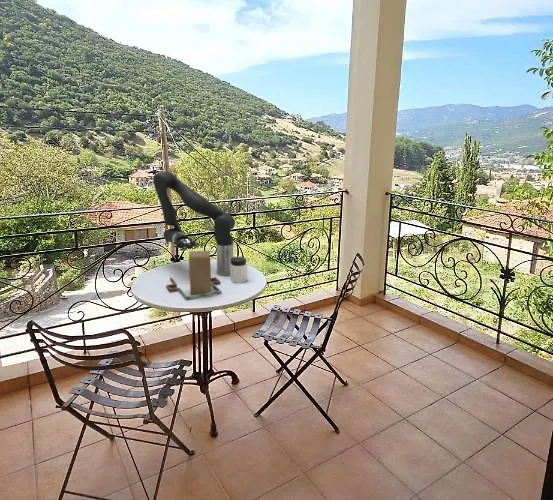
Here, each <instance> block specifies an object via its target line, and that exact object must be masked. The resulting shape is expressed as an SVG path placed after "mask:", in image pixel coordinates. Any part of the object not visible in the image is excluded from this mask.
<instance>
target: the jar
mask: <svg viewBox="0 0 553 500" xmlns="http://www.w3.org/2000/svg"><path fill="white" fill-rule="evenodd" d="M247 271H248V264H247V259H246V257H242V256H234V258H231V263H230V275H229V276H230V277H229V279H230V281H231V282H232V283H237V284H242V283H244V282H247V281H248V272H247Z"/></svg>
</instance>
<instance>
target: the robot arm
mask: <svg viewBox="0 0 553 500" xmlns="http://www.w3.org/2000/svg"><path fill="white" fill-rule="evenodd" d="M152 180H153V181H152V182H153V185H154V186H153V187H154V189H155V191H156V195H157V197H158V200H159V204H160V206H161V210H162V216H163V220H164V221H163V222H164V224H165V225H166V226H172V228H168V229H165V230H164V231H163V239H164V240H165V241H166V242H168V243H172V244H173V248H177V249H188V250H189V249H190V250H191V249H192V248H193V247H194V246H196V245H197V239H196V238H195V239H190V238H189V237H188V235H186V234H184V232H183V231H182V229H181V228H180V224H179V222H178V218H177V214H176V213H177V212H176V210H175V206H174V205H173V203H172V202H171V200H170V198H169V195H168V189H170V190H172V191H174V192H175V193H176V194H178V195H179V197H180V199H181V201H182V203H183V204H184V205H185V206H186V207H188V208H189V209H191V210H192V211H194V212H195V213H197V214H200V215H202V216H205V217H207V218H209V219H211V220H213V222H214V223H213V225H214V226H213V227H214V228H213V232H214V239H215V242H216V243H215V244H216V274H217V275H219V276H224V277H225V276H230V263H231V258H234V257H235V256H234V239H233V237H232V236H231V230H232V229H234V228H235V226H236V221H235V218H234V217H233V216H232V215H230V214H229V213H227V212H226V211H224V210H222V209H220V208H219V207H217V206H216V205H214V204H213V203H211V201H209V200H208V199H206V198H205V197H204V196H203V195H201V194H200V193H198V192H197V191H195V190H193V189H192V188H190V187H189V186H188V185H187V184H186V183H184V182H183V181H182V180H180V179H179V177H177V176H176V175H174V174H173V173H172V172H171V171H162V172H161V171H160V172H159V173H156V174H155V175H154V176H153V179H152Z"/></svg>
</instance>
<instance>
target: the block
mask: <svg viewBox="0 0 553 500" xmlns="http://www.w3.org/2000/svg"><path fill="white" fill-rule="evenodd" d="M188 269H189V270H188V271H189V272H188V273H189V292H190V294H189V295H190V296H192V295H197V294H203V293H209V292H212V286H211V278H212V272H211V269H212V268H211V252H210V251H209V250H197V251H194V250H193V251H191V250H190V251H189V253H188Z"/></svg>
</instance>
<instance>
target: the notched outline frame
mask: <svg viewBox="0 0 553 500" xmlns="http://www.w3.org/2000/svg"><path fill="white" fill-rule="evenodd" d="M169 281H170V282H171V284H166V286H165V288H166V290H167V291H168V292H169V293H177V292H179V293H180V295H181V296H182V297H183V299H184V300H185V301H190V300H191V301H192V300H195V299H201V298H205V297H212V296H216V295H217V296H218V295H221V294H222V290H221V288H219V287H218V285H221V280H220V279H219V278H217V276H215V277H211V288H213V289H214V290H215V291H211V292H209V293H203V294H197V295H187V294H186V293H185V292H184V291H183V289H182V288H181V287H178V284H177V283H176V281H175V280H174V279H173V278H172V277H169Z"/></svg>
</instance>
